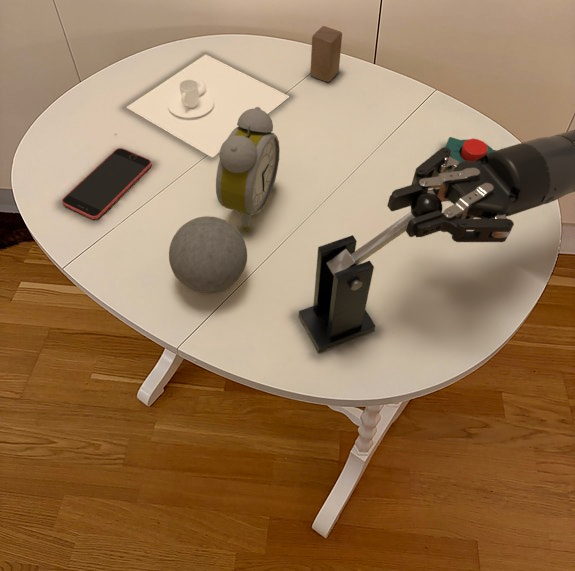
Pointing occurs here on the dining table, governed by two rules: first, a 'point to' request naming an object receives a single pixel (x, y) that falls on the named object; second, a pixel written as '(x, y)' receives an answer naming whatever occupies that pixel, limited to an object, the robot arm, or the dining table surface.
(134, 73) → the dining table surface
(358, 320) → the bracket
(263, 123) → the alarm clock
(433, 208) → the lever
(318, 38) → the wooden block
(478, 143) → the button
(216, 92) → the teacup and saucer
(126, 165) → the smartphone
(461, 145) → the button block
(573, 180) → the robot arm
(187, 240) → the decorative ball
